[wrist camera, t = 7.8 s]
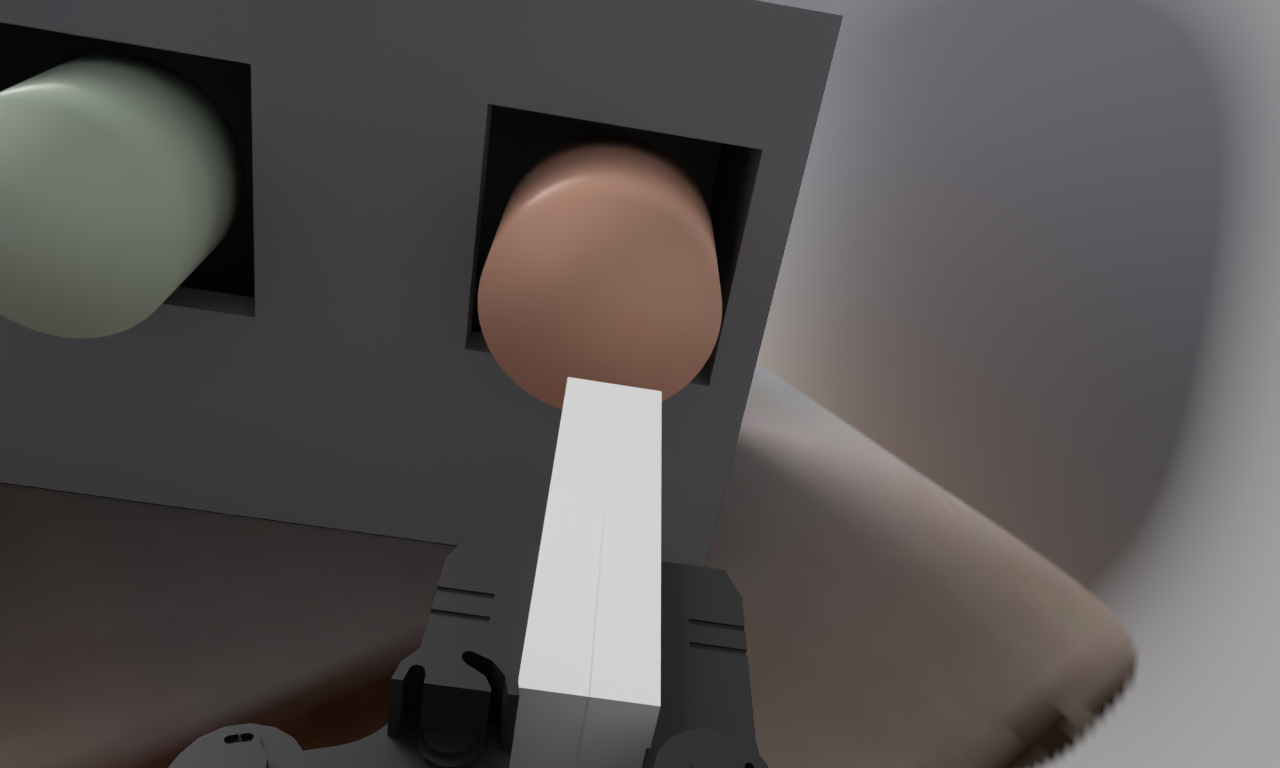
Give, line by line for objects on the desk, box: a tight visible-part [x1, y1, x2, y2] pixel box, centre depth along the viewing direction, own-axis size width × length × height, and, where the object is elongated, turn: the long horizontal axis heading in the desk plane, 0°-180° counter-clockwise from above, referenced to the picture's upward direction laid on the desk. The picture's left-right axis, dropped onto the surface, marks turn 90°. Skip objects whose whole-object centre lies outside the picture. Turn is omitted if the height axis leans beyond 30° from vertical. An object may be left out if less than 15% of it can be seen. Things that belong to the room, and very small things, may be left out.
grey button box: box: [0, 0, 843, 567], centre depth 28 cm, size 9×30×15 cm, turn 89°
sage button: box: [0, 52, 246, 339], centre depth 23 cm, size 4×5×5 cm
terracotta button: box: [478, 135, 722, 409], centre depth 23 cm, size 4×5×5 cm
